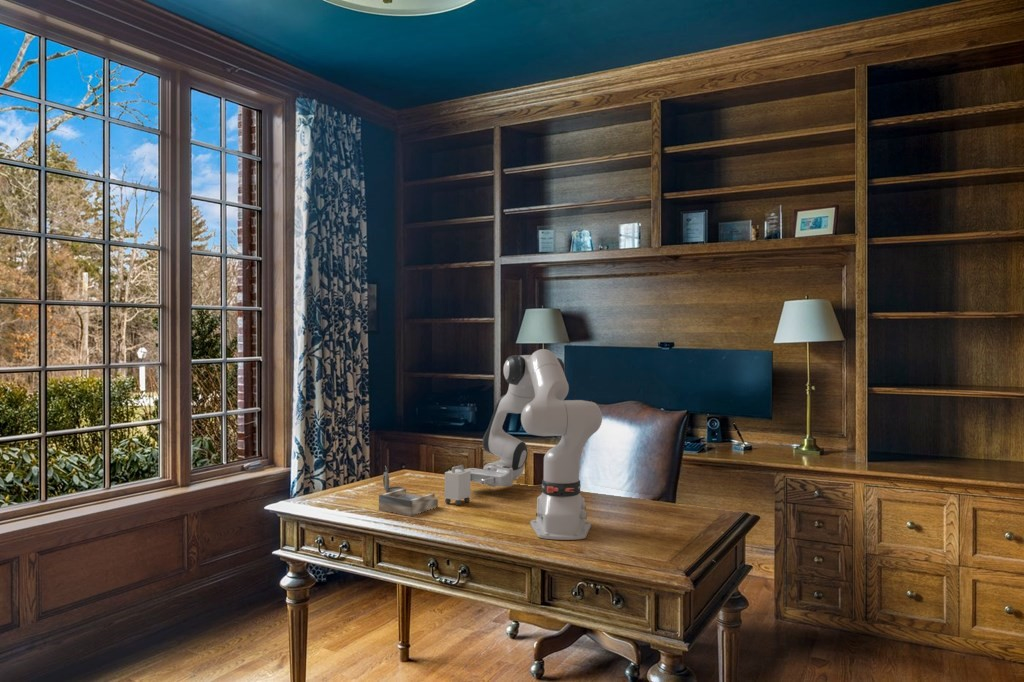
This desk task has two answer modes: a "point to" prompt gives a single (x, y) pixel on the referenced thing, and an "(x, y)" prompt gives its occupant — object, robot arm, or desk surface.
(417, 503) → the dock
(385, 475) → the pocket watch
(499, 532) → the desk surface
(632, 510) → the desk surface
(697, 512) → the desk surface
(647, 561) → the desk surface
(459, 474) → the trolley
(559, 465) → the robot arm
